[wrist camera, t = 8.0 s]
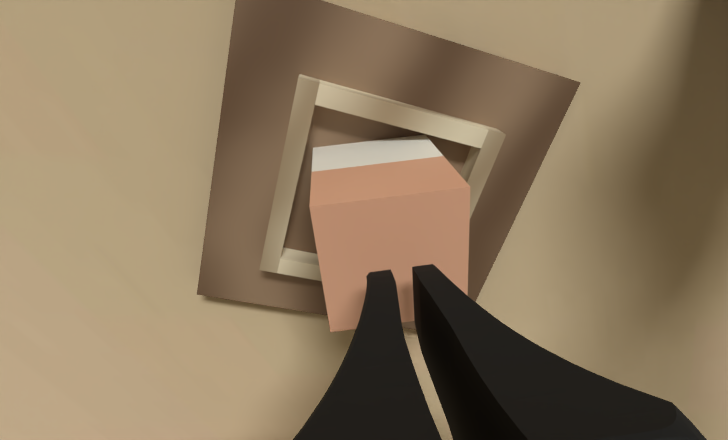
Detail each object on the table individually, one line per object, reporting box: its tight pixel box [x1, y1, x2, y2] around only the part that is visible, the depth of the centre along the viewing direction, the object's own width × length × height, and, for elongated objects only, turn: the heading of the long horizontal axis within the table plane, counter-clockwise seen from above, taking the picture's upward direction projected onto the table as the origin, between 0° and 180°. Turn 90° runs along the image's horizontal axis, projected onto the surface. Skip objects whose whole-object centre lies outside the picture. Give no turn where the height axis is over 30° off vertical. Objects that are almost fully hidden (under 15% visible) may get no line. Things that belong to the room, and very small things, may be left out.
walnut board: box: [197, 0, 580, 329], centre depth 19 cm, size 14×14×2 cm
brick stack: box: [309, 135, 470, 332], centre depth 16 cm, size 5×5×6 cm
